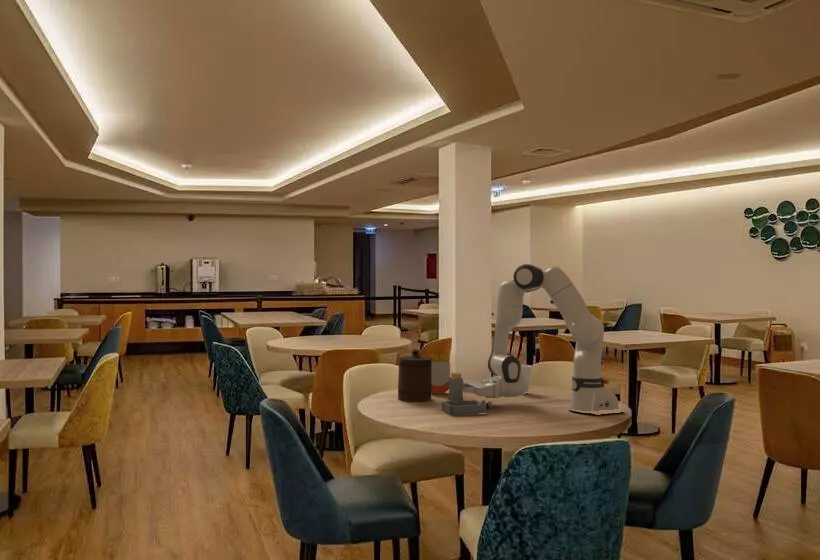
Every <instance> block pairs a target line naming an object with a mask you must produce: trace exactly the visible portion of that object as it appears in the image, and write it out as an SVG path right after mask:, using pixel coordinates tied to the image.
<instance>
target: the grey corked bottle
mask: <svg viewBox="0 0 820 560" xmlns="http://www.w3.org/2000/svg"><path fill="white" fill-rule="evenodd" d="M461 373H462V372H461ZM461 373H460V372H450V377H449V390H448V401H464V400H463V396H464V392H463V380H464V378H462V374H461Z"/></svg>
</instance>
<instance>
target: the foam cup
mask: <svg viewBox="0 0 820 560" xmlns="http://www.w3.org/2000/svg"><path fill="white" fill-rule="evenodd" d="M532 367H533V366H532V365H529V364H521V371H522V374H523V376H524V378H525V379H526V381H527V389H526V391H525V392H528V393H529V389H530V388H529V387H530V381H531V375H532V372H533V371H532V370H533V368H532Z"/></svg>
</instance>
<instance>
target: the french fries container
mask: <svg viewBox="0 0 820 560" xmlns="http://www.w3.org/2000/svg"><path fill="white" fill-rule="evenodd" d="M429 358H431V359H432V365H431V377H432V390H431V393H436V394H435V395H444V394H445V393H446V392H447V391H448V392H449V377H451V362H450V358H451V356H446V357H444V355H443V354H441V355H440V358H439V357H438V355H437V354H435V355H434V354H430V355H429Z"/></svg>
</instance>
